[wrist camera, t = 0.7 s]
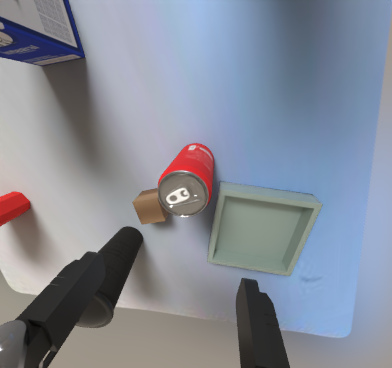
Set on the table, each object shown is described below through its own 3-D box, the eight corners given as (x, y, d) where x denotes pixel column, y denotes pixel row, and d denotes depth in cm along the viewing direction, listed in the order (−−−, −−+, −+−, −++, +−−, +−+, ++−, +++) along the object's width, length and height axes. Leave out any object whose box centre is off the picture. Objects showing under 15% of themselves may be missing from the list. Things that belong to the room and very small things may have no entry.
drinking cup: (138, 215, 33) (38, 354, 14) (156, 247, 35) (90, 399, 17) (104, 225, 35) (-24, 359, 16) (123, 255, 37) (32, 399, 19)
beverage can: (220, 166, 27) (221, 207, 16) (190, 180, 29) (172, 226, 18) (204, 135, 26) (194, 157, 15) (173, 151, 27) (143, 182, 16)
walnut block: (142, 190, 31) (132, 202, 27) (164, 186, 30) (157, 198, 26) (150, 210, 32) (141, 224, 29) (171, 207, 31) (165, 221, 28)
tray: (220, 181, 28) (220, 189, 26) (312, 194, 27) (322, 204, 25) (208, 249, 34) (207, 262, 31) (284, 262, 33) (290, 276, 30)
